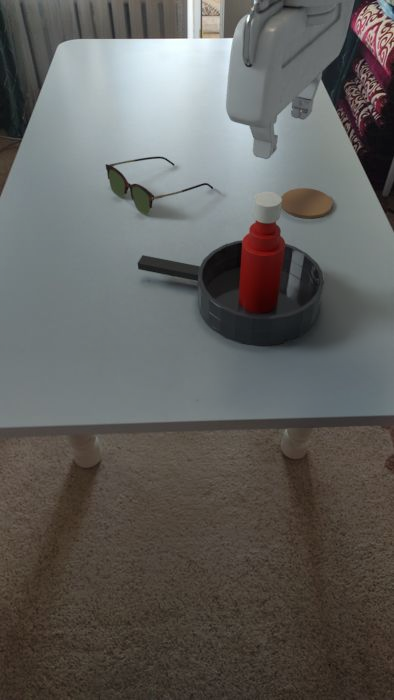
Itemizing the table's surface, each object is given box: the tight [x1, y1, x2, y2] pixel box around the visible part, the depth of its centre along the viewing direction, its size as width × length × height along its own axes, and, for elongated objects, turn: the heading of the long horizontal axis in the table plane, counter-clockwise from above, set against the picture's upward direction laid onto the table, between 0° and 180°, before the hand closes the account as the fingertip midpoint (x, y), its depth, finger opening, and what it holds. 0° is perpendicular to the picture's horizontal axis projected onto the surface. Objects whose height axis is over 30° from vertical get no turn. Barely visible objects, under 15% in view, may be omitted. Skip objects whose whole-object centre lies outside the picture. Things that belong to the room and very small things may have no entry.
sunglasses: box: [105, 156, 214, 216], centre depth 99 cm, size 14×15×5 cm
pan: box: [197, 239, 325, 346], centre depth 77 cm, size 17×17×5 cm
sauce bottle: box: [239, 191, 286, 313], centre depth 73 cm, size 6×6×16 cm
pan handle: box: [137, 254, 201, 282], centre depth 80 cm, size 9×2×1 cm, turn 72°
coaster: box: [280, 187, 333, 219], centre depth 97 cm, size 9×9×1 cm
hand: (283, 134), depth 54 cm, fingers open, 8 cm apart
